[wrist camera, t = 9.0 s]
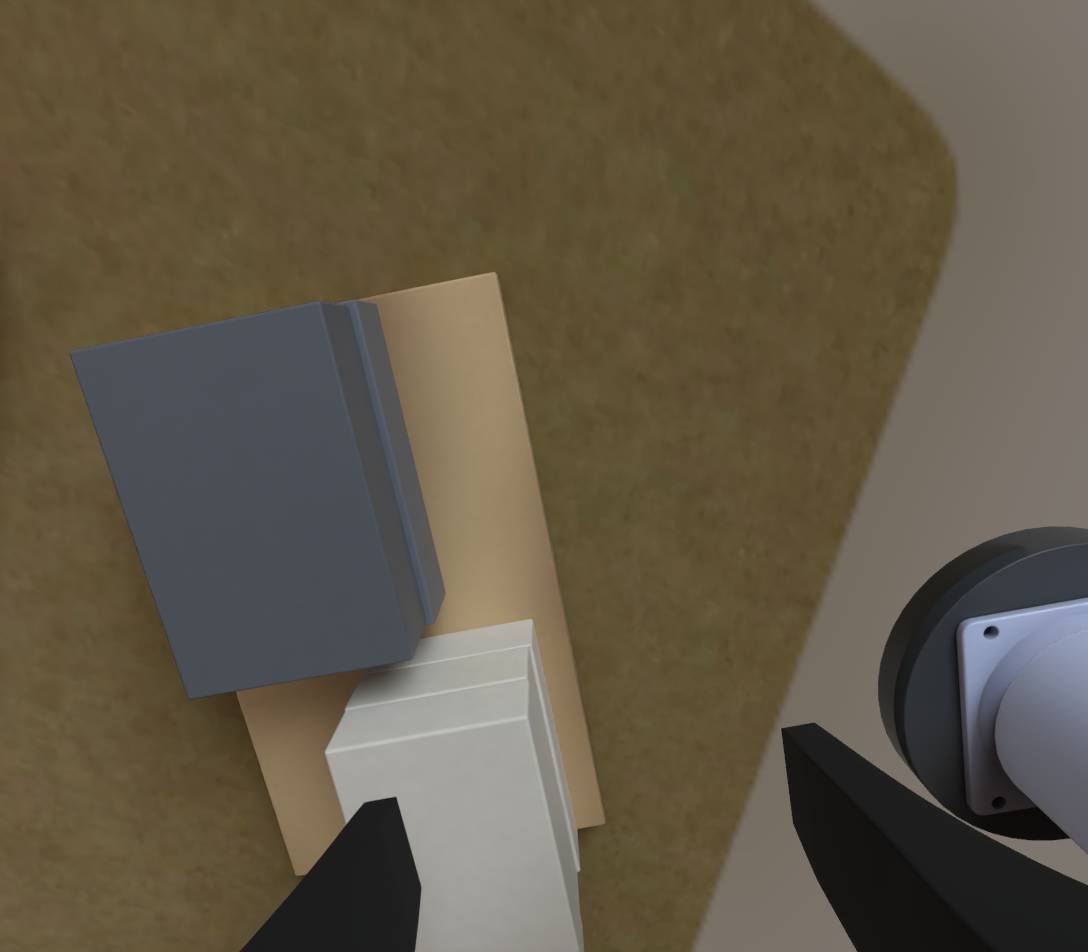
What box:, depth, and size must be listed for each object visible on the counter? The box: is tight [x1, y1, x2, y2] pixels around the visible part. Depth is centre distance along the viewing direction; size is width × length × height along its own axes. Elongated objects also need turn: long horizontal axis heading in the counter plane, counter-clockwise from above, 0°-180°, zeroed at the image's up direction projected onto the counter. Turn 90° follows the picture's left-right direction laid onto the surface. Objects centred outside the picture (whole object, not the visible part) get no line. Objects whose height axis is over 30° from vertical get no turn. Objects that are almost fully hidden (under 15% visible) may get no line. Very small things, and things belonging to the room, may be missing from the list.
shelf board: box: [236, 272, 606, 876], centre depth 21 cm, size 11×18×1 cm, turn 11°
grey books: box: [70, 300, 446, 700], centre depth 17 cm, size 6×9×4 cm, turn 11°
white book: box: [325, 679, 584, 952], centre depth 17 cm, size 5×8×2 cm, turn 11°
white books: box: [344, 619, 580, 912], centre depth 20 cm, size 5×8×4 cm, turn 11°
